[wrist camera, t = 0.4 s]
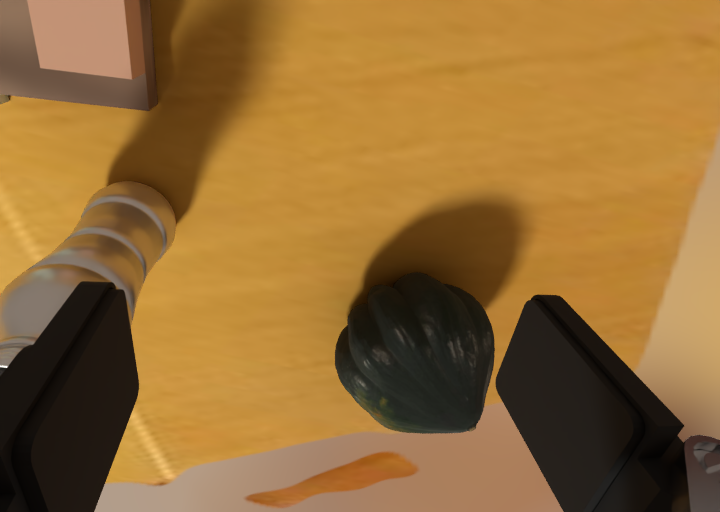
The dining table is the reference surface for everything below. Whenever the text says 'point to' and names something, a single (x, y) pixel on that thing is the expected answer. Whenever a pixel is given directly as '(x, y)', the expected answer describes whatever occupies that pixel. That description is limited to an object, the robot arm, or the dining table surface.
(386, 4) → the dining table surface
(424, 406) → the squash
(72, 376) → the robot arm
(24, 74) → the board
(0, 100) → the tray
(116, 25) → the tile
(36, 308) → the plastic bottle
